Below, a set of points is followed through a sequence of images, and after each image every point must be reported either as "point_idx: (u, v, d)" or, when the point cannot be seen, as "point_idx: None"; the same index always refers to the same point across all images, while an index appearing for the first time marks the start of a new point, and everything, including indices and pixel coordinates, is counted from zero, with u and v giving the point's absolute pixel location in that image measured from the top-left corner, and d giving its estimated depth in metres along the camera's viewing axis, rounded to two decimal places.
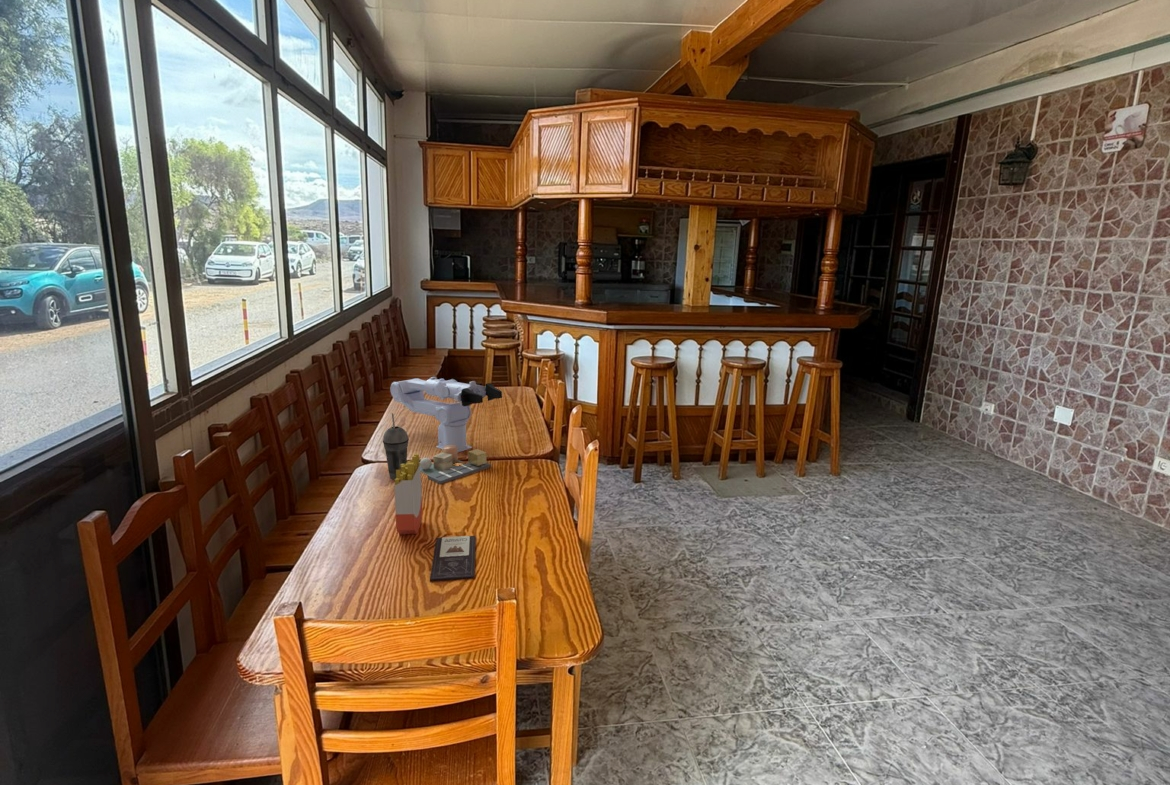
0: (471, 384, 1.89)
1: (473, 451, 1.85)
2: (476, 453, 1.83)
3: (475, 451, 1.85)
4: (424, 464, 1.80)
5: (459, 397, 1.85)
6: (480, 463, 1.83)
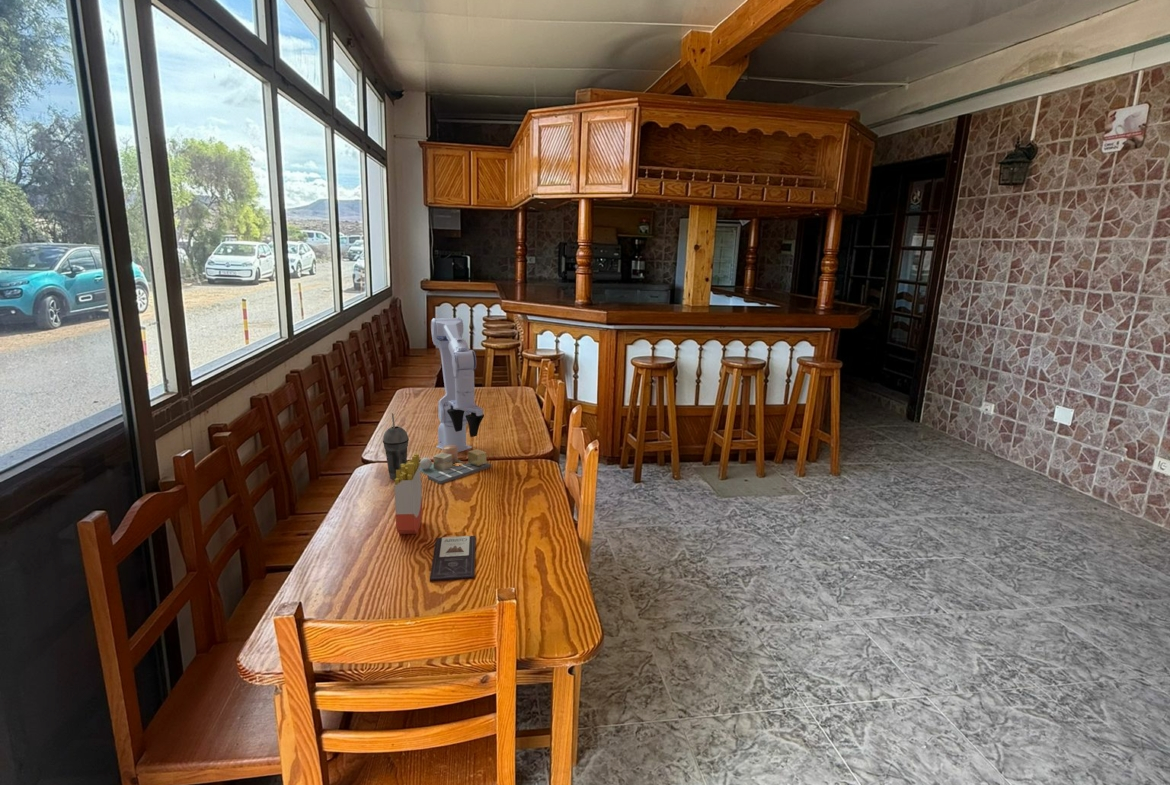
0: None
1: (473, 451, 1.85)
2: (476, 453, 1.83)
3: (475, 451, 1.85)
4: (424, 464, 1.80)
5: None
6: (480, 463, 1.83)
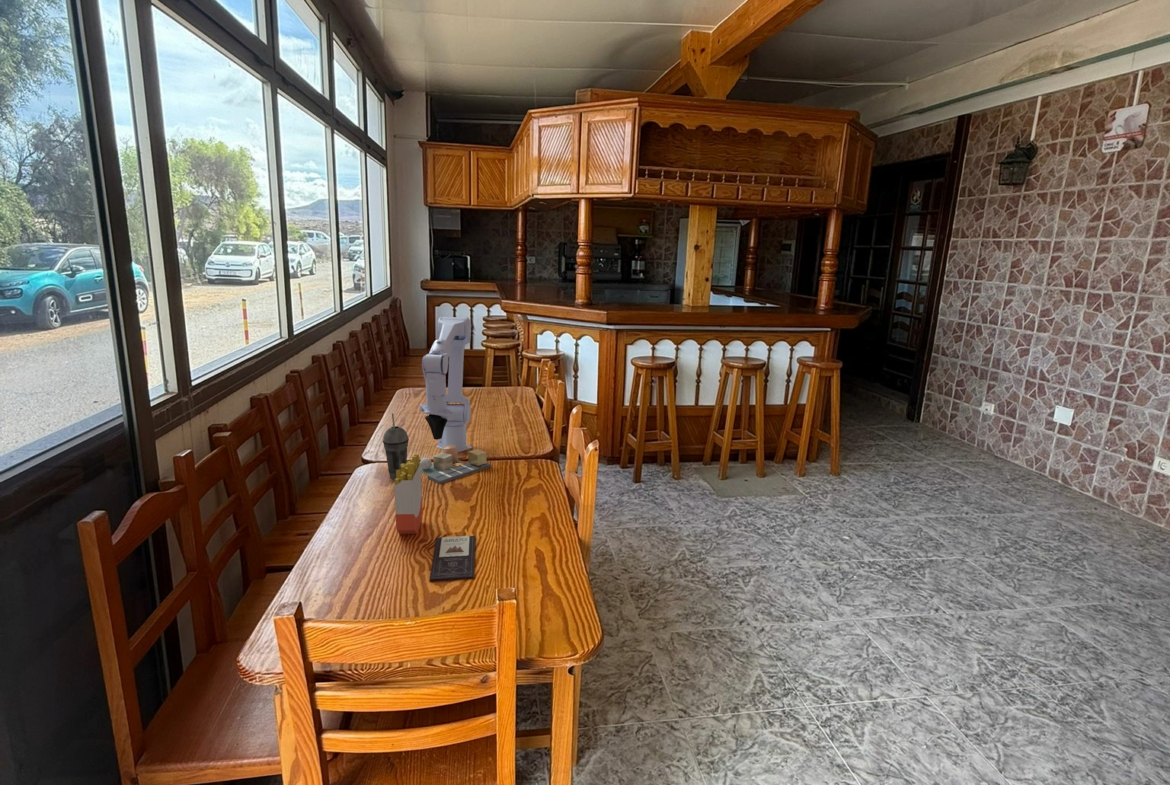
0: None
1: (473, 451, 1.85)
2: (476, 453, 1.83)
3: (475, 451, 1.85)
4: (424, 464, 1.80)
5: None
6: (480, 463, 1.83)
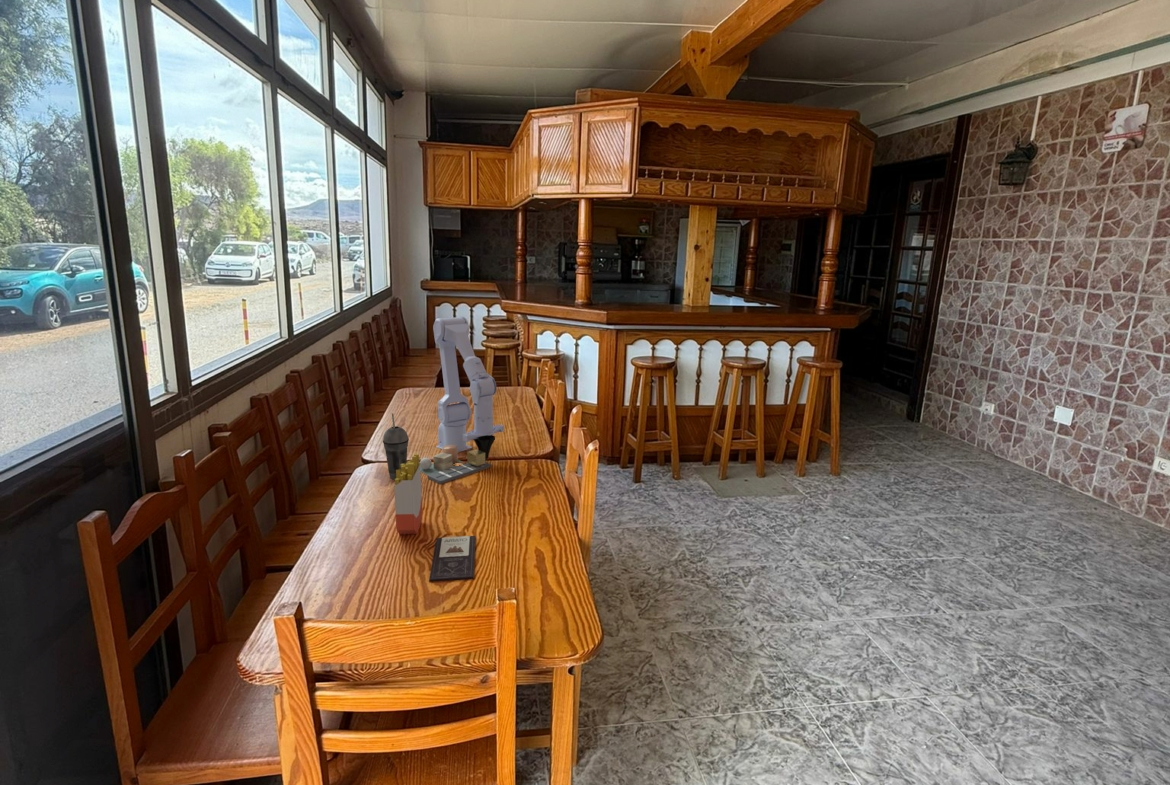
0: (488, 434, 1.83)
1: (472, 451, 1.84)
2: (475, 453, 1.83)
3: (474, 451, 1.84)
4: (424, 464, 1.80)
5: None
6: (479, 463, 1.83)
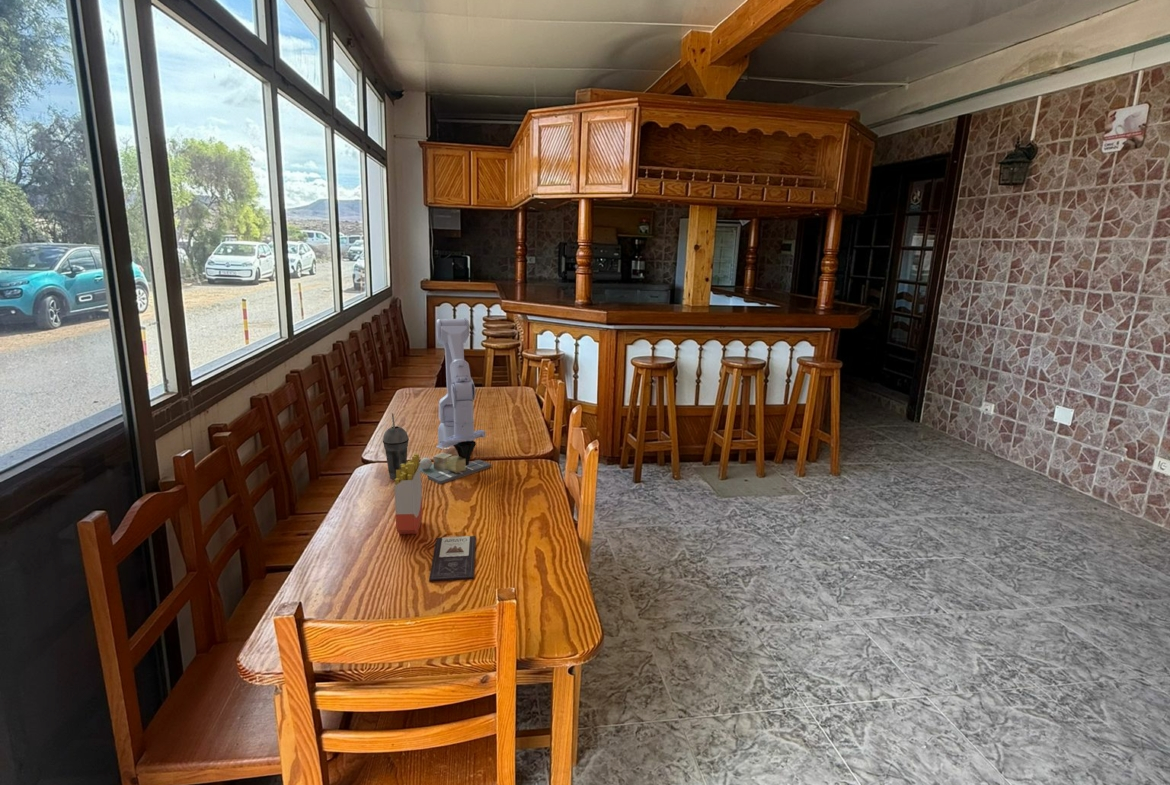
0: None
1: (452, 457, 1.79)
2: (455, 460, 1.77)
3: (454, 457, 1.79)
4: (424, 464, 1.80)
5: None
6: (459, 470, 1.77)
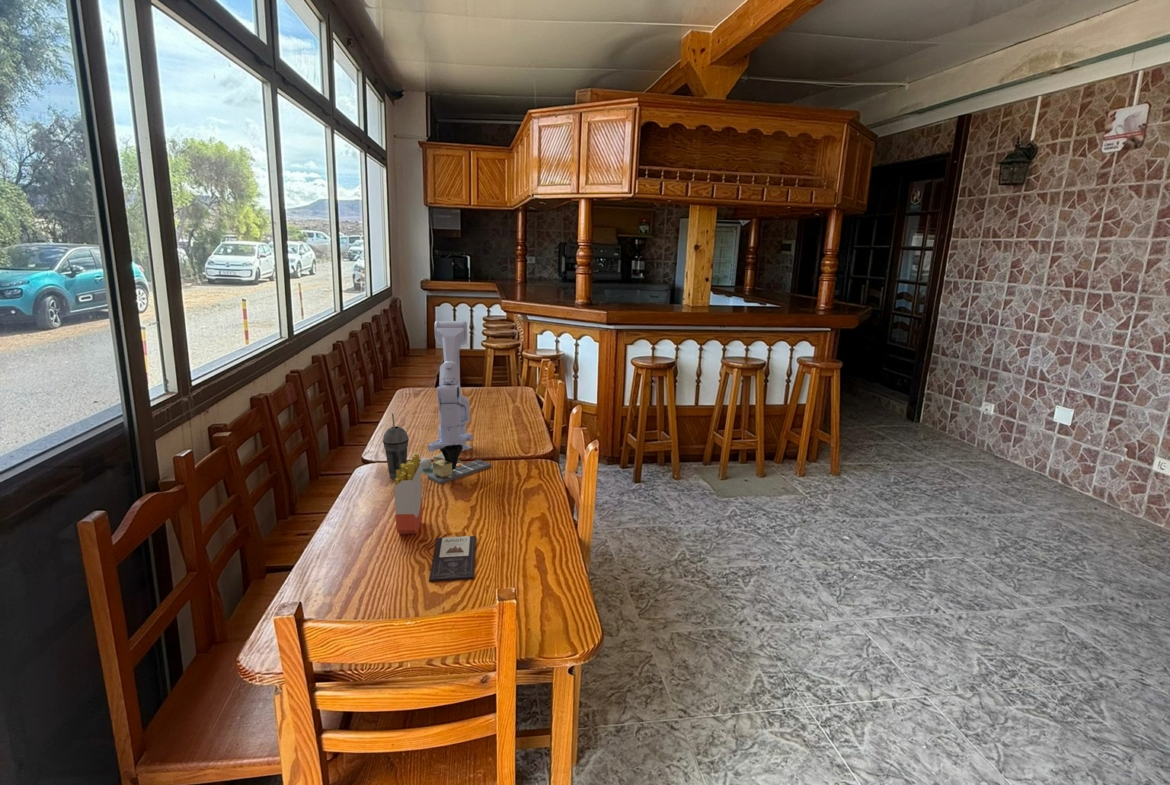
0: None
1: (438, 462, 1.75)
2: (441, 464, 1.74)
3: (440, 462, 1.75)
4: (424, 464, 1.80)
5: None
6: (445, 474, 1.74)
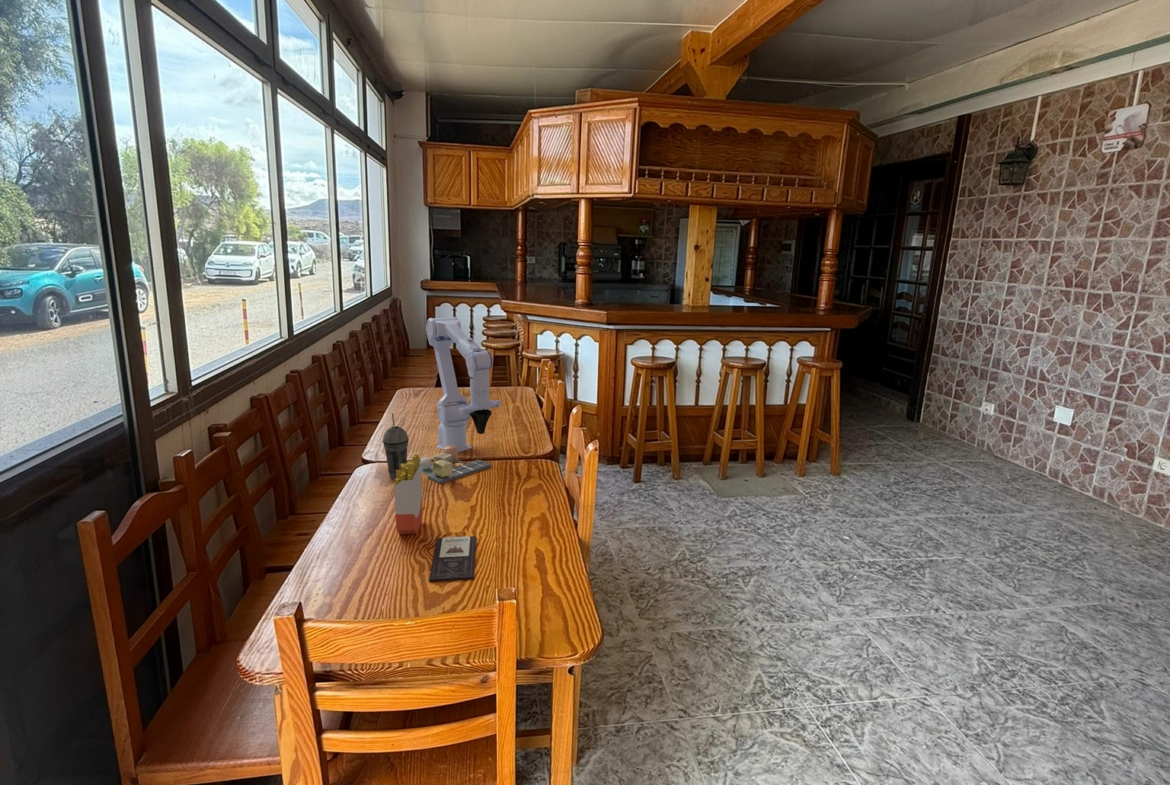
0: (484, 409, 1.81)
1: (438, 462, 1.75)
2: (441, 464, 1.74)
3: (440, 462, 1.75)
4: (424, 464, 1.80)
5: None
6: (445, 474, 1.74)
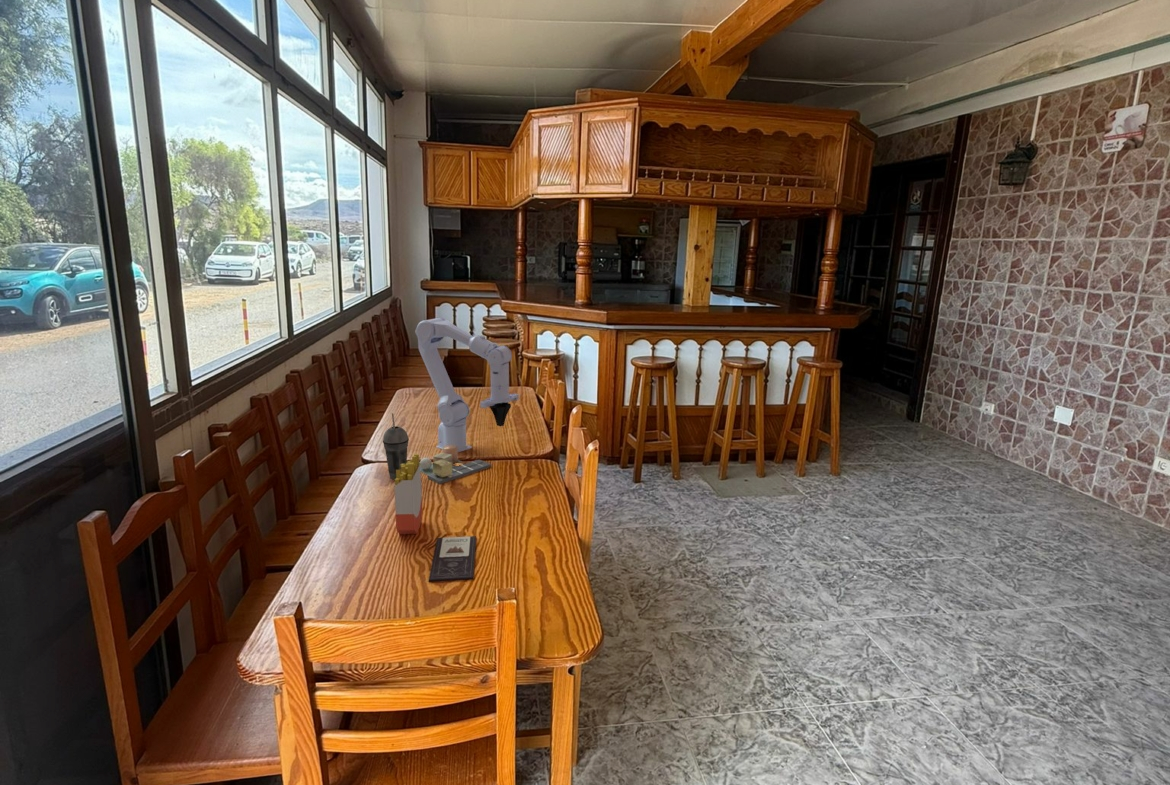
0: (505, 402, 1.89)
1: (438, 462, 1.75)
2: (441, 464, 1.74)
3: (440, 462, 1.75)
4: (424, 464, 1.80)
5: None
6: (445, 474, 1.74)
